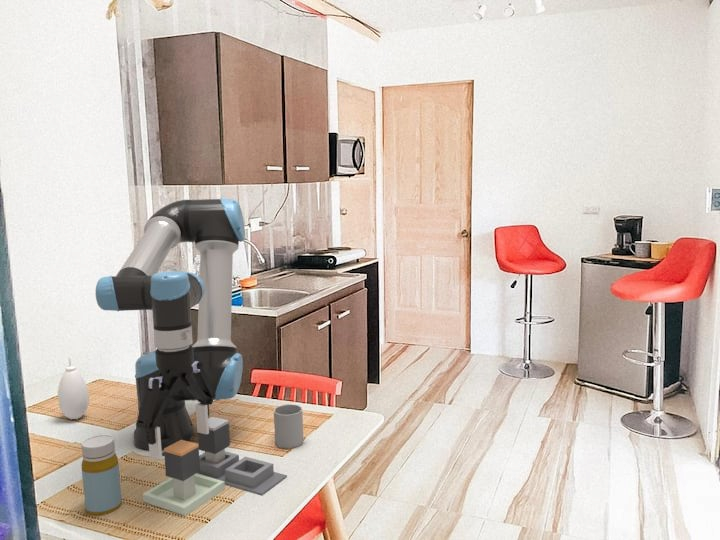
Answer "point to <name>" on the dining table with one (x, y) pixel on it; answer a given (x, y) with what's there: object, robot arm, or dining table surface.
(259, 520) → the dining table surface
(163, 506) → the parts tray
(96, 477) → the bottle
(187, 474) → the plug
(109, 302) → the robot arm
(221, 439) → the strip
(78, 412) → the white air blower
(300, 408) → the cup
